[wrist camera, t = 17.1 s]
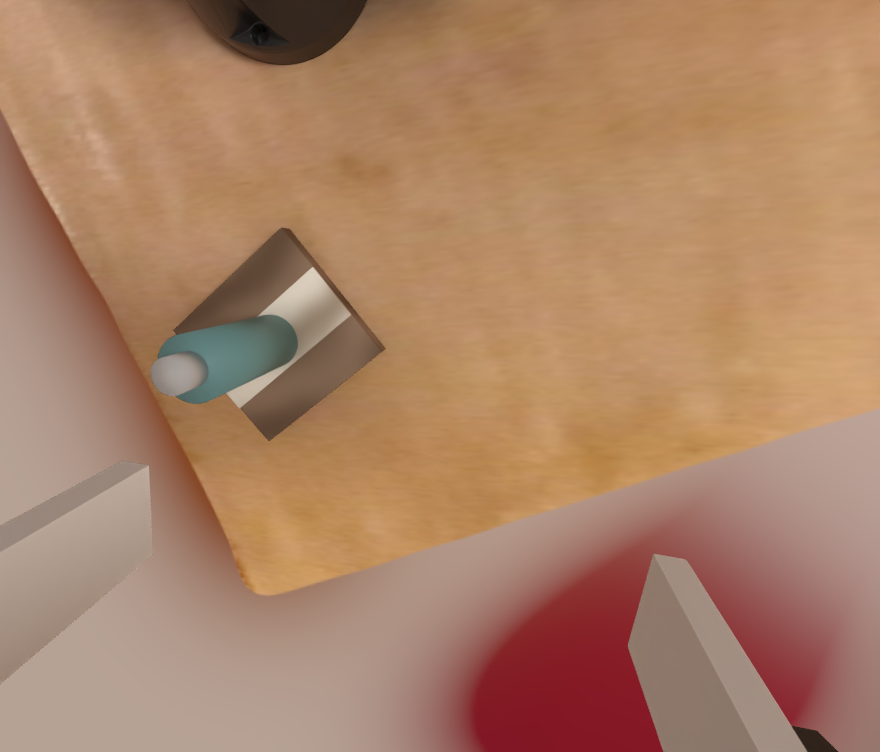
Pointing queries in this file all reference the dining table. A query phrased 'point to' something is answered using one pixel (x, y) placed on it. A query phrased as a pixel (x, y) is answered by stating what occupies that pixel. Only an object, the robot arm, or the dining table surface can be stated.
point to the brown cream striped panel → (312, 317)
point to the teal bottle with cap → (222, 357)
